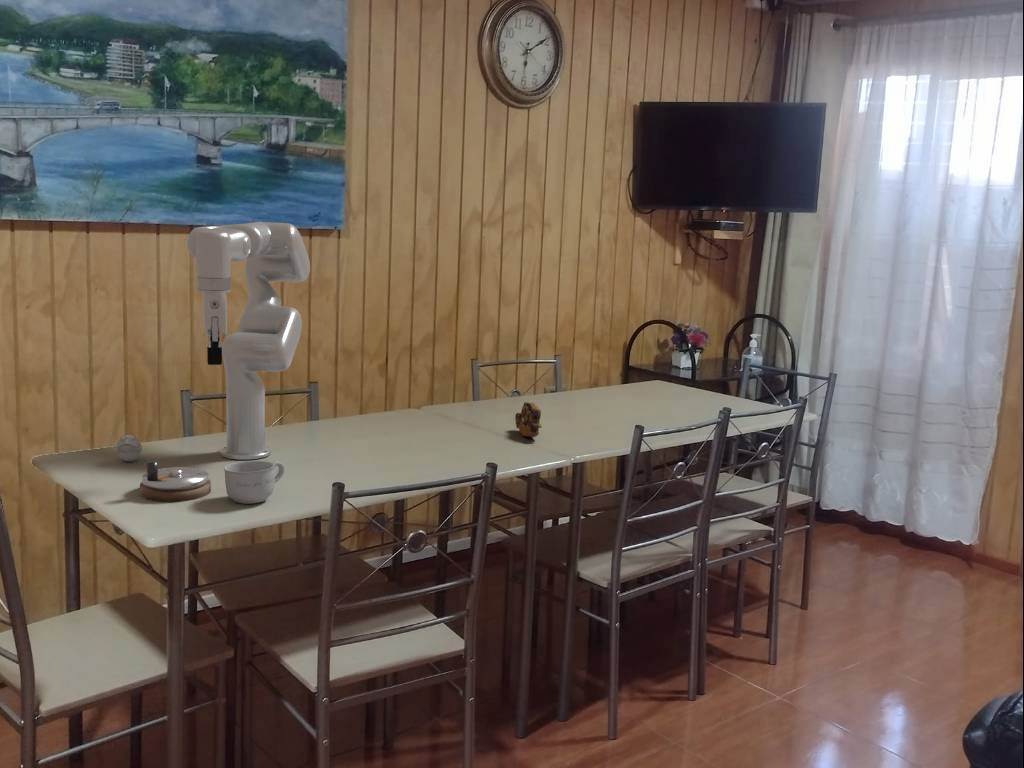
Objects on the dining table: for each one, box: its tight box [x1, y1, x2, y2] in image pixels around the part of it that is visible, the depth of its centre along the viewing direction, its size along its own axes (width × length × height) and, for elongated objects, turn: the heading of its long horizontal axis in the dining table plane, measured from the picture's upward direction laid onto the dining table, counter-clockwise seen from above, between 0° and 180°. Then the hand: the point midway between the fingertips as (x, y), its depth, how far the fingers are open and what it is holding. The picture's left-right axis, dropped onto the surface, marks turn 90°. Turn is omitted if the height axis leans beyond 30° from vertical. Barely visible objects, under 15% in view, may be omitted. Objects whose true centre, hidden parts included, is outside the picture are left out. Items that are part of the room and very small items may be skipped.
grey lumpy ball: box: [115, 434, 143, 463], centre depth 244 cm, size 6×7×7 cm
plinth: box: [139, 478, 212, 503], centre depth 222 cm, size 15×15×2 cm
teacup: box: [223, 460, 285, 505], centre depth 219 cm, size 14×11×8 cm
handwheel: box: [141, 460, 209, 491], centre depth 221 cm, size 14×14×6 cm
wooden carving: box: [514, 401, 542, 438], centre depth 289 cm, size 16×5×10 cm, turn 23°
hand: (214, 364), depth 230 cm, fingers closed
